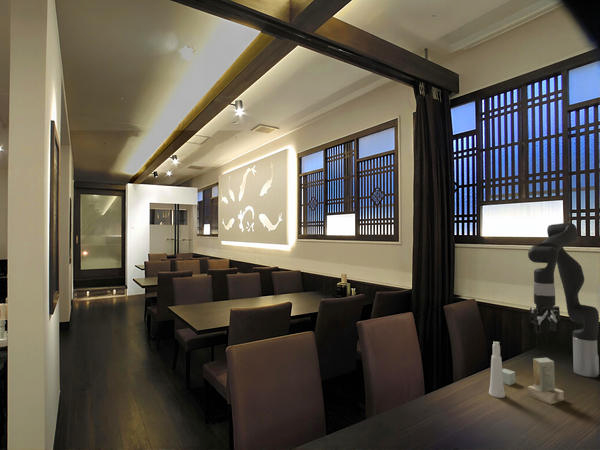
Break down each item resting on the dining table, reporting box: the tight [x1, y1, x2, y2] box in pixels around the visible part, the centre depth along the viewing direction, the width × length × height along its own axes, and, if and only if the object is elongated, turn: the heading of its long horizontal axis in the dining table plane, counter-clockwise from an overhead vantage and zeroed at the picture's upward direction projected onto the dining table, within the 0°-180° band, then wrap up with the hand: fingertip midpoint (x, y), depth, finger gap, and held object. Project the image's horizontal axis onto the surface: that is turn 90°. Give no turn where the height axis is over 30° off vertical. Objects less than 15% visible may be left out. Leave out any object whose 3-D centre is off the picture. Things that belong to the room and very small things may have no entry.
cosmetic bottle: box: [488, 341, 506, 399], centre depth 149 cm, size 6×6×22 cm
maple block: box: [527, 384, 565, 405], centre depth 146 cm, size 9×9×4 cm
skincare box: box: [532, 357, 556, 391], centre depth 145 cm, size 6×4×12 cm
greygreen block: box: [502, 368, 517, 386], centre depth 161 cm, size 5×5×5 cm
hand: (545, 331), depth 149 cm, fingers open, 8 cm apart
